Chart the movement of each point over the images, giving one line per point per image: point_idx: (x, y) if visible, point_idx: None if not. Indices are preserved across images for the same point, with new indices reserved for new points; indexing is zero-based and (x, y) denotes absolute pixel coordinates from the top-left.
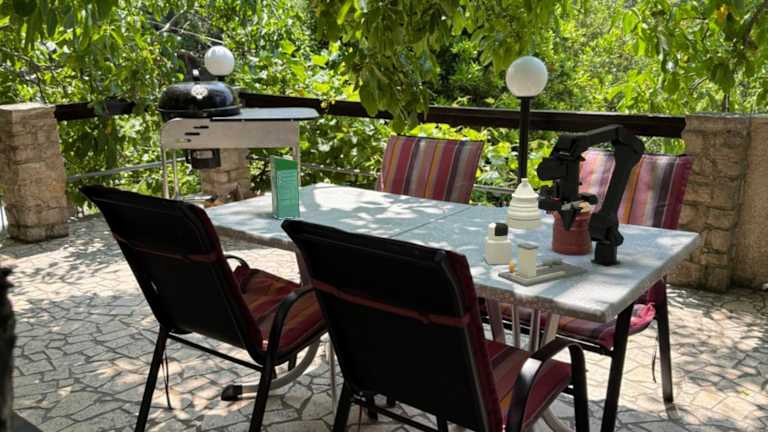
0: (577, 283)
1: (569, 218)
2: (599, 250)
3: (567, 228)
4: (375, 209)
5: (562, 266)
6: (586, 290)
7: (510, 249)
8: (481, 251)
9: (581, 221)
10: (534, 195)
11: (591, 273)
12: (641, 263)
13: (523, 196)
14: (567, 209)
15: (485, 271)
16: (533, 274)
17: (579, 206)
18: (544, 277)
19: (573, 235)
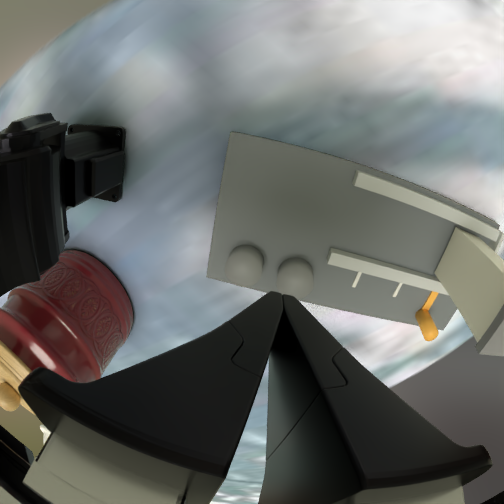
0: (389, 94)
1: (359, 369)
2: (95, 169)
3: (303, 307)
4: None
5: (263, 229)
6: (430, 44)
7: None
8: (266, 423)
9: (31, 326)
10: (47, 432)
11: (234, 113)
12: (44, 91)
13: None
14: (421, 497)
15: (413, 361)
16: (471, 237)
17: (65, 448)
18: (447, 205)
19: (80, 313)
